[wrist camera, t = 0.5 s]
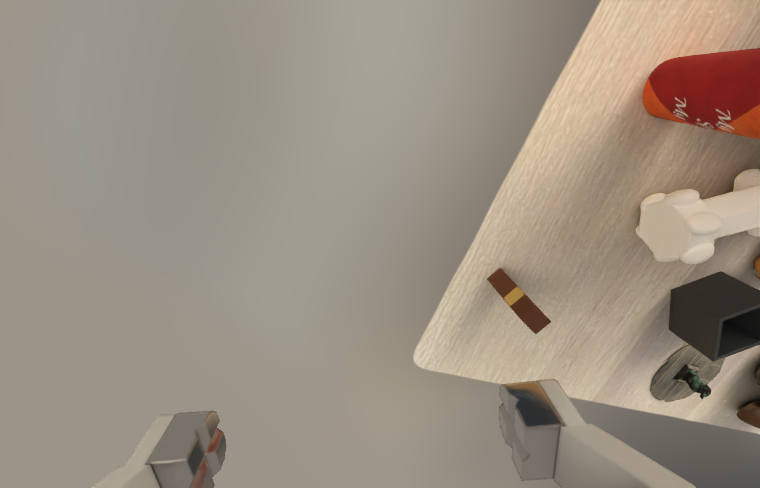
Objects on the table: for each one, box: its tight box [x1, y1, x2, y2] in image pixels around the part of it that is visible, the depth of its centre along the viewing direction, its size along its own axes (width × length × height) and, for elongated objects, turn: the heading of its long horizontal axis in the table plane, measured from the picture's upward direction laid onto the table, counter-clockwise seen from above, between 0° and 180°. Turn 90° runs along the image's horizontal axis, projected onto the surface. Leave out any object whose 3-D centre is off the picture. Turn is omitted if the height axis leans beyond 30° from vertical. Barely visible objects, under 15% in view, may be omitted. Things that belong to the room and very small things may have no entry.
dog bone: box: [636, 169, 760, 264], centre depth 40 cm, size 15×9×8 cm, turn 101°
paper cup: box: [643, 48, 760, 139], centre depth 32 cm, size 8×8×14 cm
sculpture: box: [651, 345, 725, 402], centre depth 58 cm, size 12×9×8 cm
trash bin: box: [669, 272, 760, 362], centre depth 49 cm, size 7×7×7 cm
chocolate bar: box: [487, 268, 551, 334], centre depth 41 cm, size 3×2×8 cm, turn 44°
